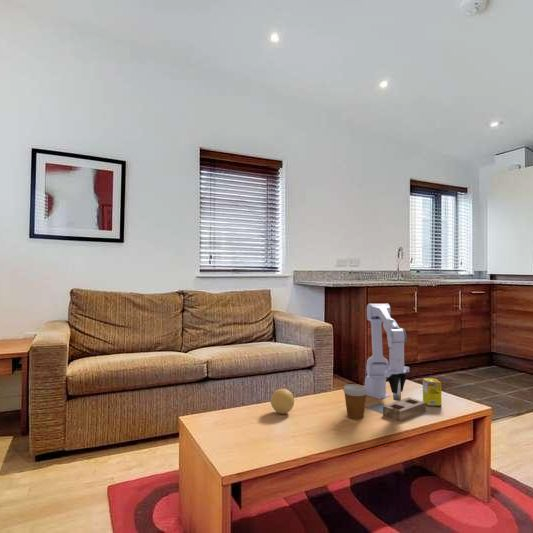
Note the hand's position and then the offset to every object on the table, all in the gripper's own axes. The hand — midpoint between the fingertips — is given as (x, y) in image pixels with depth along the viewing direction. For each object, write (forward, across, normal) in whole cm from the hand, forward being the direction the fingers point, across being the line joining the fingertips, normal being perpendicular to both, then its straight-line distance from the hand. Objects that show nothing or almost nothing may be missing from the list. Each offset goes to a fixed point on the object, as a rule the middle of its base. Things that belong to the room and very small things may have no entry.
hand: (397, 392), depth 153 cm
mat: (+10, +2, +9) cm, 14 cm away
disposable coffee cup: (+10, -14, +10) cm, 20 cm away
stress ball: (+10, -35, +31) cm, 48 cm away
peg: (+3, 0, 0) cm, 3 cm away
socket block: (+10, +5, 0) cm, 11 cm away
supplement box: (+10, +24, -1) cm, 26 cm away
